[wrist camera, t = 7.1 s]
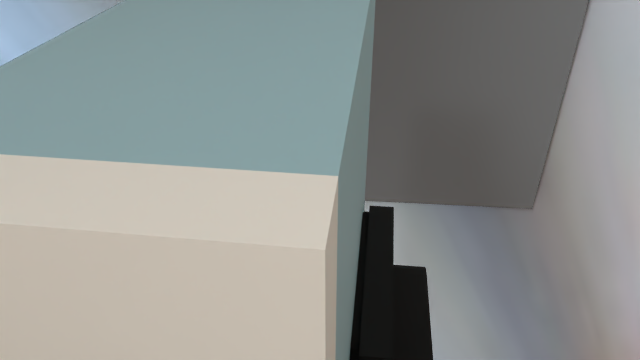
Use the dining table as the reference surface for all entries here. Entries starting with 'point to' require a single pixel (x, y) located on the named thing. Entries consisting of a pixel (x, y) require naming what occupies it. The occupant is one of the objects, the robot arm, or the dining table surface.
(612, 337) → the dining table surface
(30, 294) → the slab
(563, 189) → the dining table surface
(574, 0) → the mat
